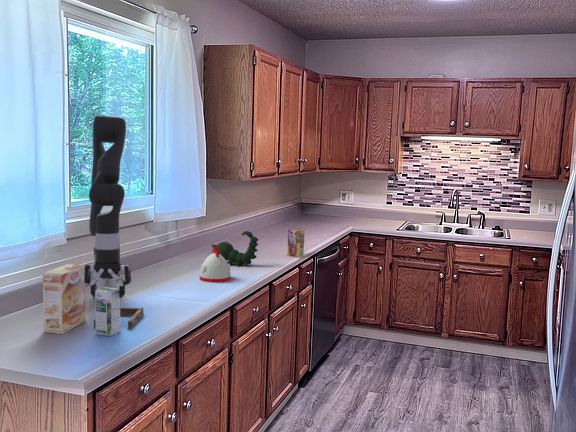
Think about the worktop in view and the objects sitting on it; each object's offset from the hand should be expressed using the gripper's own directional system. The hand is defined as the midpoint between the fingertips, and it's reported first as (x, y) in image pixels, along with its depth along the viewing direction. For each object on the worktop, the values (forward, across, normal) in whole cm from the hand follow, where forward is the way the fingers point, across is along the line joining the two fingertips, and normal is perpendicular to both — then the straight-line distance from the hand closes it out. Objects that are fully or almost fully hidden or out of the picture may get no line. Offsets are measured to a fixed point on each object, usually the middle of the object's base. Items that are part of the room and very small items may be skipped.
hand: (107, 296), depth 191 cm
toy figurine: (+12, -29, -111) cm, 115 cm away
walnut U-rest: (+12, 0, -13) cm, 18 cm away
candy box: (+11, -60, -139) cm, 152 cm away
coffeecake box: (+12, +16, -5) cm, 20 cm away
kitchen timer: (+12, -24, -79) cm, 83 cm away
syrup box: (+12, 0, 0) cm, 12 cm away
